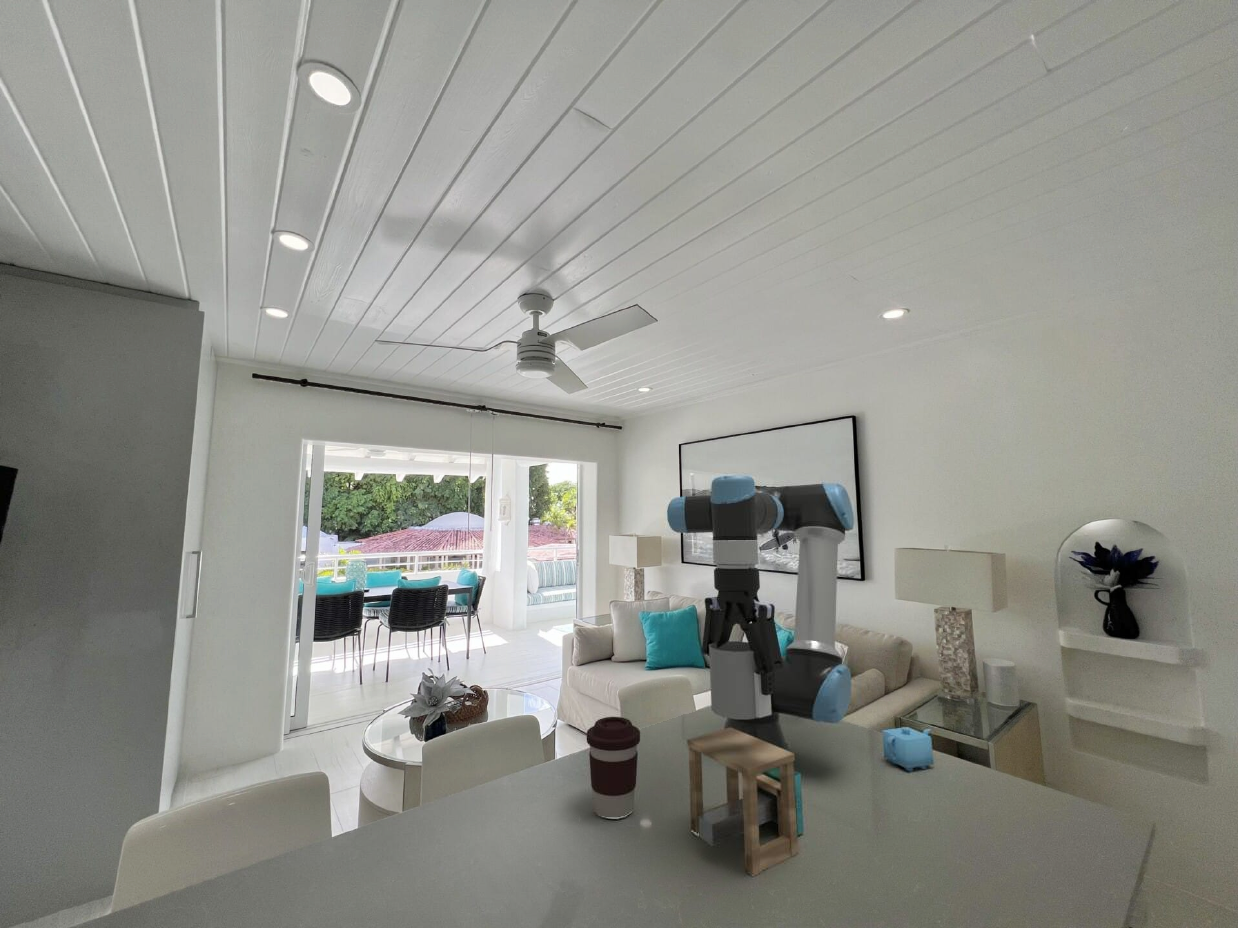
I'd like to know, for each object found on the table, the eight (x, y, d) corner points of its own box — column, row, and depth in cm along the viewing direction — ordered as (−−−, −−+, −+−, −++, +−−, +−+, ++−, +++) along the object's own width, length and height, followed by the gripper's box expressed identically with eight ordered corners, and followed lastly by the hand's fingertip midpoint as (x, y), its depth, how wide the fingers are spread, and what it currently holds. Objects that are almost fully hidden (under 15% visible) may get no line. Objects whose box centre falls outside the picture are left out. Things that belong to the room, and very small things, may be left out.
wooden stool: (689, 832, 85) (687, 739, 87) (745, 809, 92) (741, 724, 94) (753, 877, 73) (748, 769, 76) (811, 847, 80) (805, 749, 83)
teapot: (922, 755, 115) (919, 719, 116) (946, 766, 109) (942, 729, 110) (878, 762, 111) (876, 725, 112) (901, 774, 105) (898, 735, 107)
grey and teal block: (766, 811, 91) (763, 757, 92) (803, 832, 84) (800, 773, 86) (689, 844, 81) (687, 783, 82) (725, 870, 74) (722, 804, 76)
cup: (763, 721, 77) (759, 653, 79) (708, 716, 80) (706, 650, 81) (764, 704, 85) (761, 642, 87) (715, 700, 88) (713, 640, 89)
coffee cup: (649, 803, 94) (647, 717, 97) (627, 830, 86) (626, 735, 88) (601, 792, 99) (601, 710, 101) (576, 817, 90) (576, 727, 92)
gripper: (802, 568, 80) (812, 721, 76) (709, 563, 97) (713, 688, 94) (770, 570, 76) (778, 732, 72) (678, 564, 93) (682, 695, 90)
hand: (741, 707), depth 83 cm, fingers closed on cup, 8 cm apart
